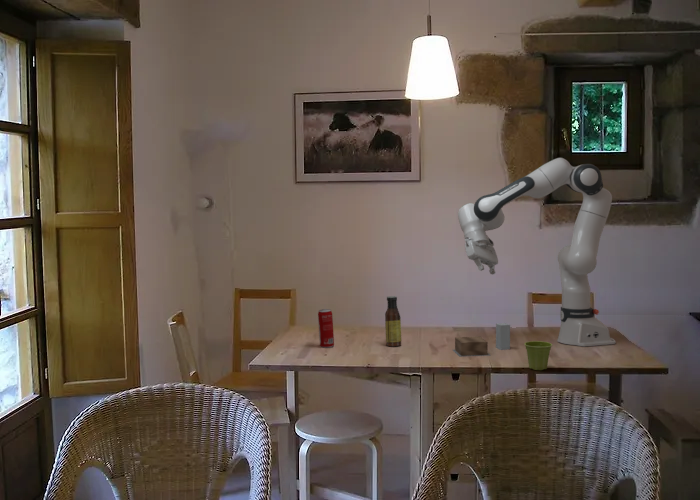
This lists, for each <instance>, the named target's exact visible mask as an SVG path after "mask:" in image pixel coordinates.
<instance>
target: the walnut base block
mask: <svg viewBox="0 0 700 500" xmlns="http://www.w3.org/2000/svg"><path fill="white" fill-rule="evenodd" d="M488 347H489V346H488V341H487V340H486V339H485V338H484V337H482V336H462V337H461V336H459V337H458V336H456V337H454V350H456V351H457V352H458V353H459V354H460V355H461V356H465V357H473V356H472V355H488V354H489V353H488V352H489V351H488Z"/></svg>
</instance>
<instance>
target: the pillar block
mask: <svg viewBox="0 0 700 500" xmlns="http://www.w3.org/2000/svg"><path fill="white" fill-rule="evenodd" d="M495 348H496V350H497V349H498V350H500V351H503V350H504V351H505V350H510V349H511V324H509V323H507V322H504V323H501V322H498V323H495Z"/></svg>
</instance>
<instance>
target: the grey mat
mask: <svg viewBox="0 0 700 500" xmlns="http://www.w3.org/2000/svg"><path fill="white" fill-rule="evenodd" d="M452 351H453V353H455V354H456V355H457V356H458V357H463V358H464V357H465V358H466V356H461V355H460V354H459V353H458V352H457V351H456V350H455V349H452ZM485 356H487V357H490V356H492V355H491V354H490V353H488V355H472V356H471V357H485Z"/></svg>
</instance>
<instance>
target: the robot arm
mask: <svg viewBox="0 0 700 500" xmlns="http://www.w3.org/2000/svg"><path fill="white" fill-rule="evenodd" d="M564 185H565V186H567V187H568V188H569V189H570V190H572V191H574V192H576V193H580V194H582V198H583V199H582V204H581V206H580V208H579V210H578V214H577V216H576V219H575V221H574V222H575V223H574V225H573V228H572V238H571V243H570V244H569V245H567V246H566V245H565V247H563V248H561V249H560V250H559V252H558V254H557V261H558V266H559V267H558V268H559V277H560V282H561V306H560V314H559V317H560V327H559V333H558V337H557V340H556V341H557V342H558V343H561V344H565V345H571V346H578V347H593V346H595V347H596V346H605V345H607V346H608V345H615V344H616V340H615V339H614V338H613V337H610V335H611V334H610V329H609V328H608V326H607V325H606V324H604V322H602V321H600V320H599V319H598V318H597V317H595V316H598V315H599V309H596V308H595V309H594V308H593V307H591V286H590V283H589V278H588V277H589V276H588V274H591V273H592V272H593V271H594V270H595V268H596V266H597V261H598V260H597V256H598V251H599V245H600V240H601V236H602V233H603V231H604V228H605V226H606V223H607V220H608V218H609V214H610V210H611V207H612V201H613V195H612V193H611V192H610V190H608V189H607V188H605V187H604V184H603V177H602V173H601V171H600V169H599V167H597V166H595V165H594V164H592V163H583V164H580V165H579V164H578V165H577V166H573V165H571V164H570V162H569V161H568V160H567V159H565V158H563V157H557V158H554V159H552V160H550V161H548V162H545V163H543V164H542V165H540V167H538V168H536V169H535V170H533V171H532V172H529V173H528V174H527V175H525V176H523V177H521V178H518V179H517V180H515V181H513V182H511V183H509V184H508V185H506V186H504V187H502V188H501V189H499V190H496V191H494V192H493V193H488V194H486V195H482V196H480V197H479V198H478V199H477V200H475V202H474V203H472V202H469V203H466V204H463V205H462V206H461V207H460V208H459V210H458V212H457V220H458V222H459V223H458V224H459V226H460V229H461V231H462V232H463V238H464V242H465V243H464V248H465V249H464V250H465V254H466V256H467V258H468V259H469V260H471V261H474V264H475V266H477V268H478V270H479V271H481V272H482V271H484V270H485V266H488V268H489V270H488V271H489V274H490V275H495V274H496V269H495V266H497V265H498V264H499V259H498V255H497V252H496V250H495V247H494V246H495V243H494V241H493V240H492V239H491V238H490V237H489V236H488V235H487V233H486V232H488V231H493V230H496V229H498V228H500V227H501V226H502V225H503V224H504V221H505V214H504V212H503V210H502V208H504V207H505V206H506V205H508V204H510V203H511V202H513V201H515V200H516V199H518V198H521V197H524V196H526V197H527V196H528V197H531V198H533V199H542V198H544V197H546V196H548V195H549V194H551V193H553V192H554V191H556V190H557V189H559V188H560V187H562V186H564ZM484 265H485V266H484Z"/></svg>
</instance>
